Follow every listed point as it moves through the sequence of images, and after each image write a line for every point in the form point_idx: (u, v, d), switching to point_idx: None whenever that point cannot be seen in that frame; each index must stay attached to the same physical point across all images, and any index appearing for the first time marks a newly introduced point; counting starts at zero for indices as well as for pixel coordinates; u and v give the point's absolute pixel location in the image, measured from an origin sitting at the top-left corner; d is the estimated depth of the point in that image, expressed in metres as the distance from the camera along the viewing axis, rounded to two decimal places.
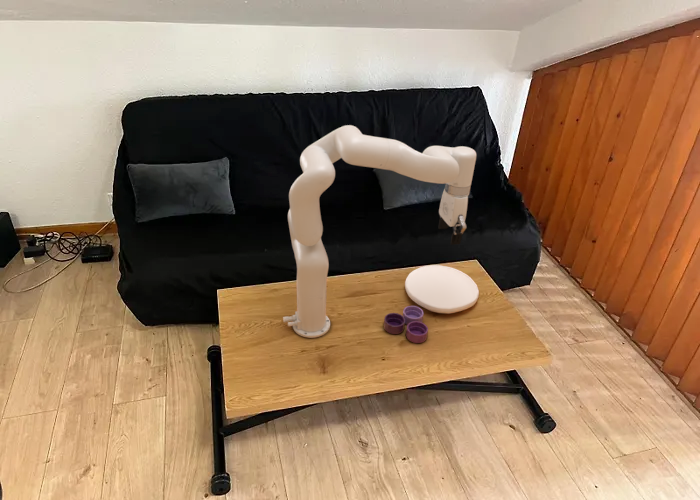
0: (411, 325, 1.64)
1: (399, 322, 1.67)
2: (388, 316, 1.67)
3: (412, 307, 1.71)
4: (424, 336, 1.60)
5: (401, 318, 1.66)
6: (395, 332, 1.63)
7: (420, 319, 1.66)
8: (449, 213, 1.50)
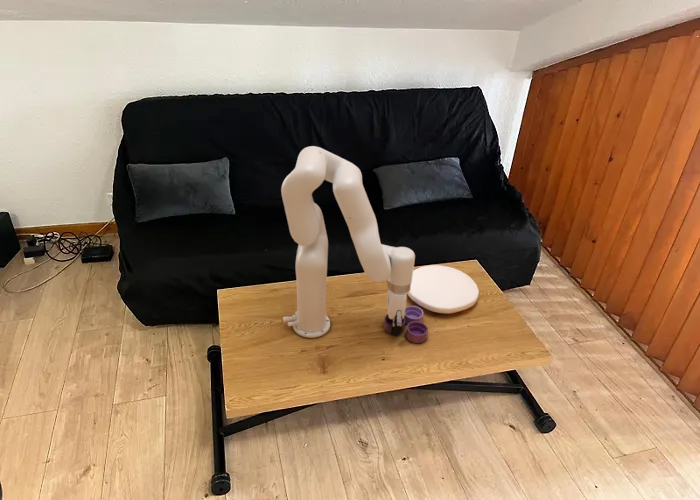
0: (411, 325, 1.64)
1: None
2: (388, 316, 1.67)
3: (412, 307, 1.71)
4: (424, 336, 1.60)
5: None
6: None
7: (420, 319, 1.66)
8: (389, 306, 1.58)
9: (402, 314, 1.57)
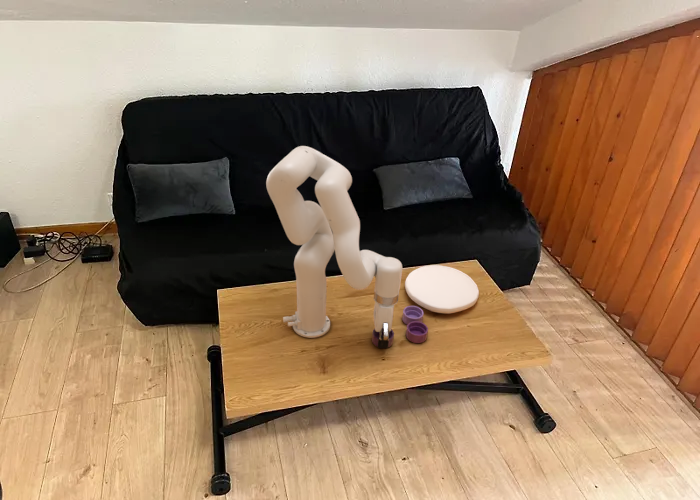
0: (411, 325, 1.64)
1: None
2: None
3: (412, 307, 1.71)
4: (424, 336, 1.60)
5: (390, 331, 1.61)
6: None
7: (420, 319, 1.66)
8: (376, 319, 1.52)
9: (389, 325, 1.50)
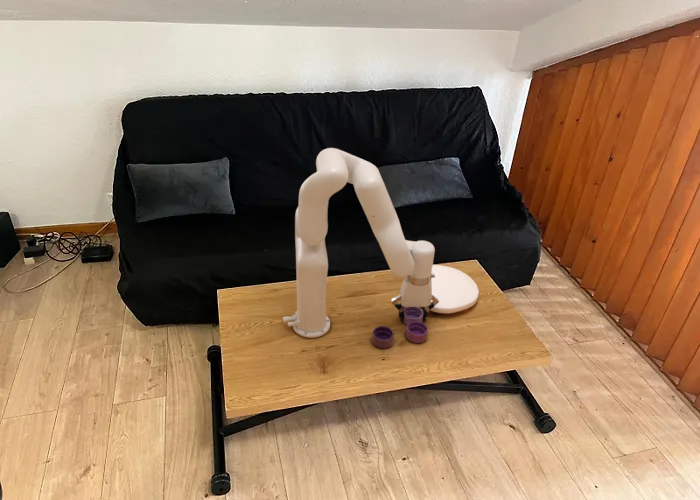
0: (411, 325, 1.64)
1: (388, 335, 1.61)
2: (376, 329, 1.61)
3: (412, 307, 1.71)
4: (424, 336, 1.60)
5: (390, 331, 1.61)
6: (383, 346, 1.57)
7: (420, 319, 1.66)
8: None
9: (401, 299, 1.63)
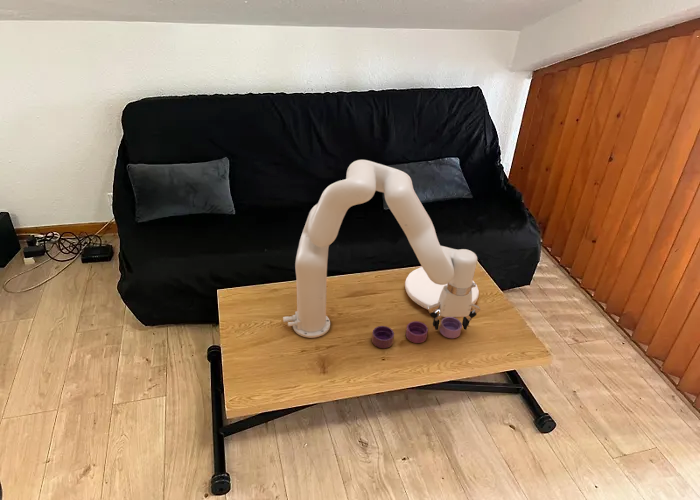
0: (411, 325, 1.64)
1: (388, 335, 1.61)
2: (376, 329, 1.61)
3: (449, 318, 1.67)
4: (424, 336, 1.60)
5: (390, 331, 1.61)
6: (383, 346, 1.57)
7: (459, 331, 1.62)
8: None
9: (440, 307, 1.58)
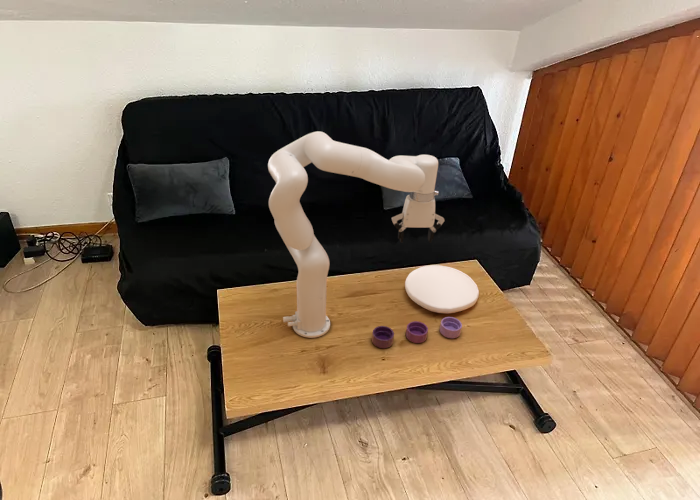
0: (411, 325, 1.64)
1: (388, 335, 1.61)
2: (376, 329, 1.61)
3: (449, 318, 1.67)
4: (424, 336, 1.60)
5: (390, 331, 1.61)
6: (383, 346, 1.57)
7: (459, 331, 1.62)
8: None
9: (404, 217, 1.58)
